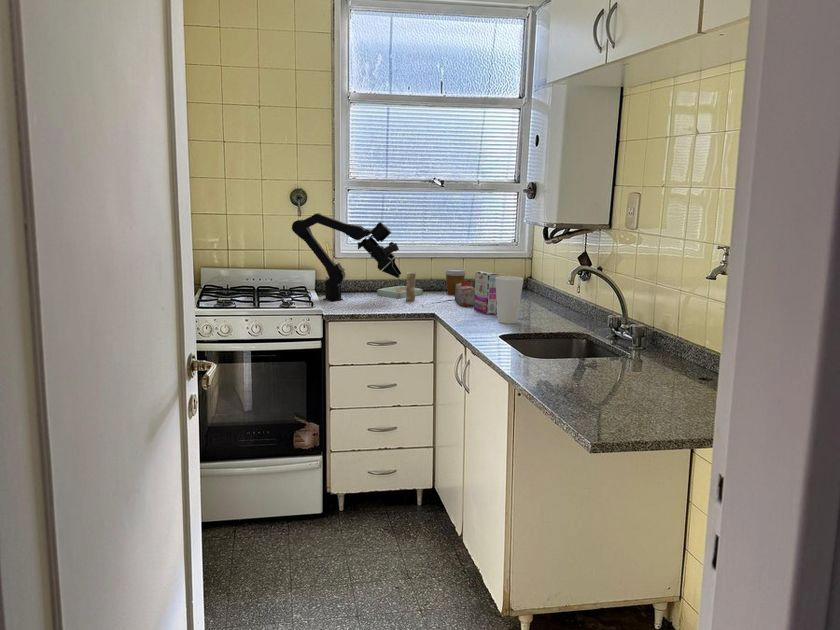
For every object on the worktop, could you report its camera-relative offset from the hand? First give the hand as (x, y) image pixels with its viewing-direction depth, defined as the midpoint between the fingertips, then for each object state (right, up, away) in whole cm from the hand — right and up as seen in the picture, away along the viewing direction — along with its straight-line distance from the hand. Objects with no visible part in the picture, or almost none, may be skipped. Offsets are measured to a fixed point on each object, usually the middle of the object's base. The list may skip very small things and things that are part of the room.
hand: (399, 275), depth 329 cm
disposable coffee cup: (+25, -8, +23) cm, 35 cm away
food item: (+28, -12, +2) cm, 31 cm away
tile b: (+1, -7, +21) cm, 22 cm away
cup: (+42, -20, -35) cm, 58 cm away
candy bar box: (+35, -16, -15) cm, 42 cm away
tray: (0, -9, +16) cm, 18 cm away
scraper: (+5, -12, +2) cm, 13 cm away
